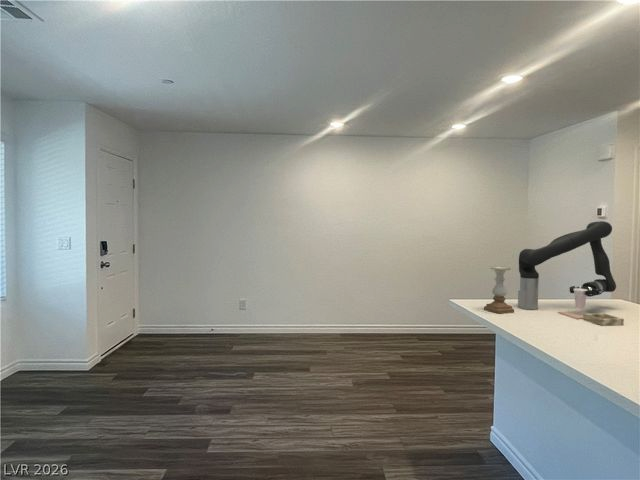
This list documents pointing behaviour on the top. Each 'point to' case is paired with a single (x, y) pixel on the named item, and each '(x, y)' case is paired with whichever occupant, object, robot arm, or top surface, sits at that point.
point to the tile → (574, 314)
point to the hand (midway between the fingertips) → (578, 292)
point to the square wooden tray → (603, 319)
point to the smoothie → (580, 297)
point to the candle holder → (499, 294)
